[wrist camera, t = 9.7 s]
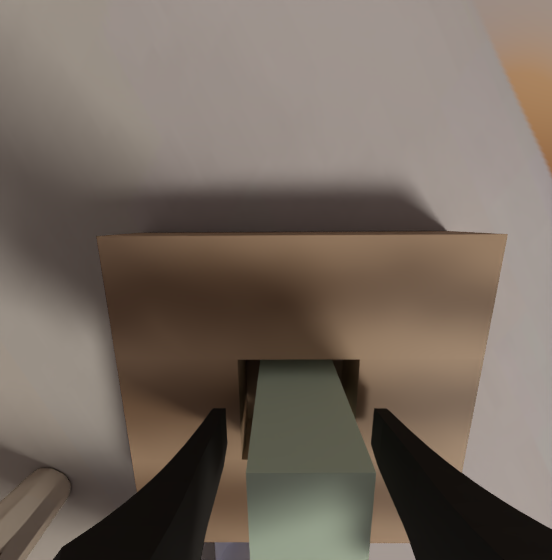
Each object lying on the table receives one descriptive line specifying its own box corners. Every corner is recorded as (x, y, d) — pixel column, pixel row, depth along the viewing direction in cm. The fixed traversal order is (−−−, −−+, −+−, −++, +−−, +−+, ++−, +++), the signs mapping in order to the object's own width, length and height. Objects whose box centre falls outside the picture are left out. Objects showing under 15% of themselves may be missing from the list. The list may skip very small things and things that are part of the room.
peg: (325, 404, 16) (367, 567, 9) (263, 404, 17) (250, 567, 9) (326, 347, 16) (376, 472, 8) (261, 348, 16) (245, 473, 8)
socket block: (413, 477, 19) (448, 543, 15) (171, 476, 19) (144, 541, 15) (448, 231, 15) (507, 234, 11) (142, 232, 15) (96, 236, 11)
